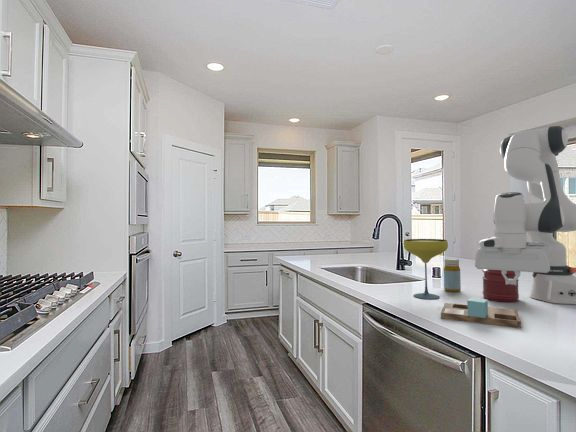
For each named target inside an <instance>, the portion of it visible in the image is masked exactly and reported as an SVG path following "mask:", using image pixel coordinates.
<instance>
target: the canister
mask: <svg viewBox="0 0 576 432" xmlns="http://www.w3.org/2000/svg"><path fill="white" fill-rule="evenodd" d="M481 271H482V272H483V276H482V296H483V299H486V300H488V301H494V302H500V303H501V302H502V303H516V302H518V301H519V298H520V293H519V278H518V279H517V280H516V285H506V283H505V278H504V277H503V275H502V273H501V270H487V269H481ZM505 275H506V277H507V278H508V279H514V277H515V276H516V274H515V271H507V274H505Z"/></svg>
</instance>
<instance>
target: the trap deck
mask: <svg viewBox="0 0 576 432" xmlns="http://www.w3.org/2000/svg"><path fill="white" fill-rule="evenodd" d="M440 319H442V320H453V321H459V322H460V321H461V322H467V323H469V322H470V323H478V324H485V325H493V326H500V327H501V326H502V327H508V328H509V327H510V328H519V329H522V321H521V317H520V314H519V312H518V309H513V308H512V309H511V308H499V307H491V306H488V315H487V316H486V317H485V318H481V317H475V316H469V315H468V305H467V304H462V303H461V304H460V303H452V302H451V303H450V302H444V305H443V306H442V309H441V311H440Z"/></svg>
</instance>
